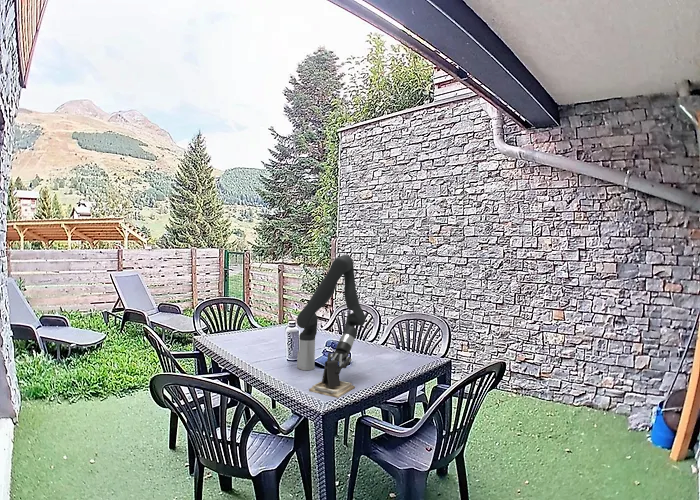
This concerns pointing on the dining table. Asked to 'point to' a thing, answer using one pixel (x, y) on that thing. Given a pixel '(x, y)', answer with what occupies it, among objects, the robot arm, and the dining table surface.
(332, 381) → the black tent sign
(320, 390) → the spacer board
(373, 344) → the dining table surface
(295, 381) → the dining table surface
